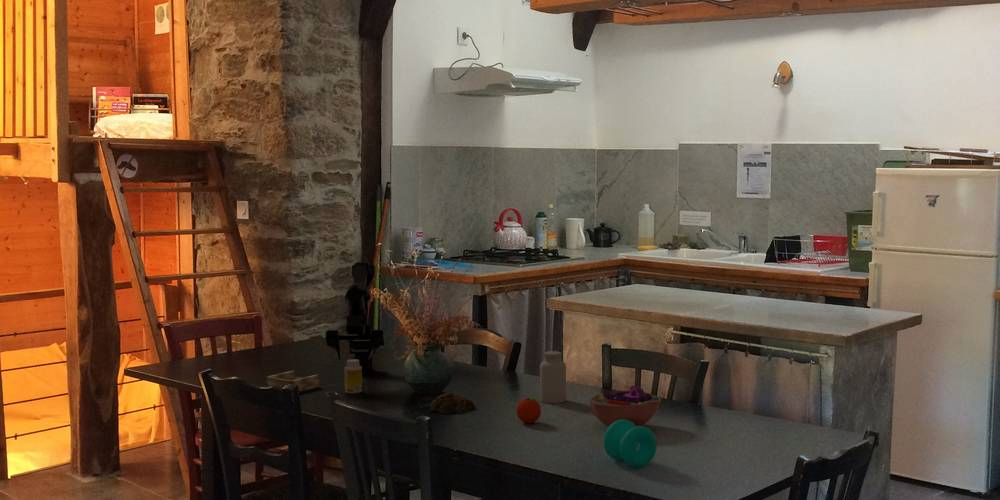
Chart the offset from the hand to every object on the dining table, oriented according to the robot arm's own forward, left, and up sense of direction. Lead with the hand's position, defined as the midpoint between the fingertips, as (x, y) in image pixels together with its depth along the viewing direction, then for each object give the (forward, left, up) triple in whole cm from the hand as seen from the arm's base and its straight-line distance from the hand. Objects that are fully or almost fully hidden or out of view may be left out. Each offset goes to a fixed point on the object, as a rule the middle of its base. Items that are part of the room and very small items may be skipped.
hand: (353, 359), depth 329 cm
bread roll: (-18, +37, -10) cm, 42 cm away
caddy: (+17, -11, -10) cm, 23 cm away
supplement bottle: (+1, +3, -10) cm, 11 cm away
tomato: (-32, +62, -10) cm, 70 cm away
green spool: (-36, +107, -10) cm, 113 cm away
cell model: (-53, +78, -10) cm, 94 cm away
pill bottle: (-50, +42, -10) cm, 66 cm away
